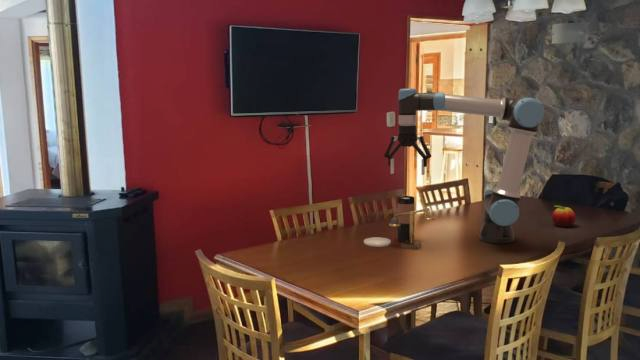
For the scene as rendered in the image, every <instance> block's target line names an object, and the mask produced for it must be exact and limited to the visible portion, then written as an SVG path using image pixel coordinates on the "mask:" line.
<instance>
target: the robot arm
mask: <svg viewBox="0 0 640 360" xmlns="http://www.w3.org/2000/svg"><path fill="white" fill-rule="evenodd" d="M397 102H398V103H397V104H398V125H399V126H398V136H396V135H392V136H391V138H390V142H389V144H388V147H387V149H386V151H385V153H384V155H383V156H384V158H387V159H388V162H387V164H388V167H390V175H393V174H394V173H395V158H393V157H394V156H395V155H396V153H398V151H399V150H400V148H401V147H404V148H405V147H408V148H409V147H412V148H414V150H415V151H416V152H417V153H418V155H420V157H421V158H422V159H421V175H422V176H424V175H425V173H426V172H425V171H426V167H428V159H431V157H432V154H431V152H430V149H429V148H428V146H427V144H426V142H425V137H424V135H421V136H417V125H416V124H417V111H419V112H420V111H425V112H426V111H436V112H437V111H439V112H440V111H442V112H449V113H450V112H451V113H458V114H467V115H477V116H485V117H495V118H498V119H499V120H501V121H508V127H507V128H508V130H509V131H510V135H509V138H508V143H507V146H506V151H505V155H504V158H503V164H502V168H501V171H500V175H499V180H498V184H497V187H496V188H494V189H492V188H491V189H486V190H484V195H483V198H484V199H483V200H484V201H483V202H484V203H483V204H484V205H483V223H482V226H481V229H480V232H479V236H478V237H479V240H481V241H482V242H484V243H491V244H510V243H513V242H514V241H515V234H514V230H513V228H512V225H513V224H514V223H515V222H516V221H517V220H518V219H519V216H520V208H519V205H520V201H521V197H522V196H521V194H520V192H519V189H520V186H521V182H522V178H523V174H524V170H525V166H526V162H527V158H528V154H529V149H530V145H531V142H532V139H533V137H534V136H535V135H536V134H537V133H538V132H539V127H540V124H541V123H542V121H543V119H544V116H545V108H544V105H543V104H542V103H541V102H540V100H538V99H536V98H533V97H517V98H516V97H514V98H512V97H511V98H510V97H503V98H501V99H496V98H487V97H477V96H470V95H469V96H467V95H461V94H460V95H458V94H450V93H448V94H447V93H445V92H439V91H437V92H430V91H428V92H417V89H416V88H400V89H399V90H398V100H397ZM397 141H398V142H399V143H398V144H397V146H396V147H395V148H394V149H393V147H394V145H395V142H397ZM417 141H419V142H420V145H421V147H422V149H421V147H420V146H419V145H418V144H417V143H416V142H417ZM392 149H393V150H392ZM391 151H392V152H391Z"/></svg>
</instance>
